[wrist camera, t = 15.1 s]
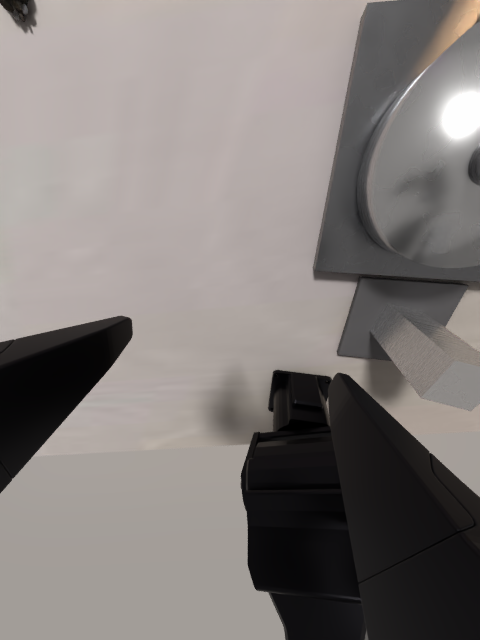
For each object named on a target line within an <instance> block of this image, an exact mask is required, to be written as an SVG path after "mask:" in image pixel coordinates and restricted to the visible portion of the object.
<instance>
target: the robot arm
mask: <svg viewBox="0 0 480 640" xmlns="http://www.w3.org/2000/svg"><path fill="white" fill-rule="evenodd" d="M132 335H133V331H132V320H131V318H129V317H125V316H117V317H113V318H108V319H104V320H99V321H95V322H90V323H86V324H81V325H77V326H72V327H68V328H63V329H59V330H54V331H50V332H45V333H41V334H36V335H32V336H27V337H23V338H18V339H16V340H9V341H4V342H0V493H1V492H2V491H3V490H4V489H5V488H6V486H7V485H8V484H9V483H10V482H11V481H12V478H14V477H15V476H16V475H17V474H18V472H19V471H20V470H21V469H22V468H23V467H24V465H25V464H26V463H27V462H28V461H29V460H30V459H31V458H32V457H33V455H34V454H35V453H36V452H37V451H38V450H39V449H40V447H41V446H42V445H43V444H44V443H45V442H46V441H47V439H48V438H49V437H50V436H51V435H52V434H53V433H54V432H55V430H56V429H57V428H58V427H59V426H60V425H61V424H62V422H63V421H64V420H65V419H66V418H67V417H68V416H69V414H70V413H71V412H72V411H73V410H74V409H75V408H76V407H77V405H78V404H79V403H80V402H81V401H82V400H83V399H84V397H85V396H86V395H87V394H88V393H89V392H90V391H91V389H92V388H93V387H94V386H95V385H96V384H97V383H98V381H99V380H100V379H101V378H102V377H103V376H104V375H105V374H106V372H107V371H108V370H109V369H110V368H111V366H112V365H113V364H114V362H115V361H116V360H117V358H118V357H119V355H120V354H121V353H122V351H123V350H124V348H125V347H126V346H127V344H128V343H129V341H130V340H131V338H132ZM276 374H278V375H276ZM326 381H327V382H326ZM327 398H328V401H329V414H328V410H327V406H326V401H327ZM268 409H269V411H271V412H274V414H273V432H265V433H260V432H255V433H254V434H253V438H252V441H251V444H250V447H249V450H248V454H247V456H246V460H245V463H244V466H243V469H242V473H241V489H242V495H243V502H244V505H245V509H246V511H247V521H248V568H249V571H250V574H251V578H252V581H253V584H254V587H255V589H256V590H257V591H264V592H269V595H270V597H271V599H272V602H273V604H274V606H275V608H276V610H277V613H278V615H279V617H280V619H281V622H282V624H283V626H284V630H285V639H286V640H480V497H479V496H478V495H476V494H475V493H474V492H473V491H472V490H471V489H469V487H467V486H466V485H465V484H464V483H463V482H462V481H460V480H459V479H458V478H457V477H456V476H455V475H454V474H453V473H452V472H451V471H450V470H449V469H448V468H446V467H445V466H444V465H443V464H442V463H441V462H440V461H439V460H438V459H437V458H436V457H435V456H434V455H433V454H431V453H429V451H428V450H427V449H426V448H425V447H424V446H423V445H422V444H421V443H420V442H419V441H418V440H416V438H415V437H413V436H412V435H411V434H410V433H409V432H408V431H407V430H406V429H405V428H404V427H403V426H402V425H401V424H400V423H399V422H398V421H396V420H395V419H394V418H393V417H392V416H391V415H390V414H389V413H388V412H387V411H386V410H385V409H384V408H383V407H382V406H381V405H379V404H378V403H377V402H376V401H375V400H374V399H373V398H372V397H371V396H370V395H369V394H368V393H367V392H366V391H365V390H364V389H362V388H361V387H360V386H359V385H358V384H357V383H356V382H355V381H354V380H353V379H352V378H351V377H350V376H349V375H347V374H343V373H337V374H336V375H335V376H334V378H333V380H332V379H331V378H330V377H328V376H320V375H312V374H304V373H296V372H288V371H280V370H275V371H274V372H273V376H272V383H271V391H270V399H269V407H268ZM329 416H330V418H329Z"/></svg>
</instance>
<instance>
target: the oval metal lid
mask: <svg viewBox="0 0 480 640" xmlns="http://www.w3.org/2000/svg"><path fill="white" fill-rule="evenodd" d="M357 203H358V209H359V214H360V217H361V220H362V223H363V225H364V227H365V229H366V230H367V232H368V234H369V235H370V236H371V237H372V239H373V240H374V241H375V242H376V243H378V244H379V245H380V246H381V247H383V248H384V249H386V250H388V251H389V252H392V253H394V254H397V255H399V256H402V257H405V258H407V259H410V260H413V261H415V262H418V263H420V264H424V265H428V266H432V267H439V268H464V267H472V266H477V265H480V21H479V22H477V23H476V24H475V25H474V26H472V27H471V28H470V29H468V30H467V31H466V32H465V33H464V34H463V35H462V36H460V37H459V38H458V39H457V40H456V41H455V42H454V43H453V44H452V45H451V46H449V47H448V48H447V49H446V50H445V51H444V52H443V53H442V54H441V55H440V56H439V57H438V58H437V59H436V60H435V61H434V62H432V63H431V64H430V65H429V66H428V67H427V68H426V69H425V70H424V71H423V72H422V73H421V74H420V75H419V76H418V77H417V78H415V79H414V80H413V81H412V82H411V83H410V84H409V85H408V86H407V87H406V89H405V90H404V91H403V92H402V93H401V94H400V95H399V96H398V97H397V98H396V100H395V101H394V102H393V104H392V105H391V106H390V108H389V109H388V110H387V111H386V113H385V114H384V116H383V118H382V119H381V121H380V122H379V124H378V126H377V127H376V129H375V131H374V133H373V135H372V137H371V139H370V141H369V143H368V146H367V148H366V151H365V153H364V156H363V159H362V163H361V166H360V170H359V176H358V182H357Z"/></svg>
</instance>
